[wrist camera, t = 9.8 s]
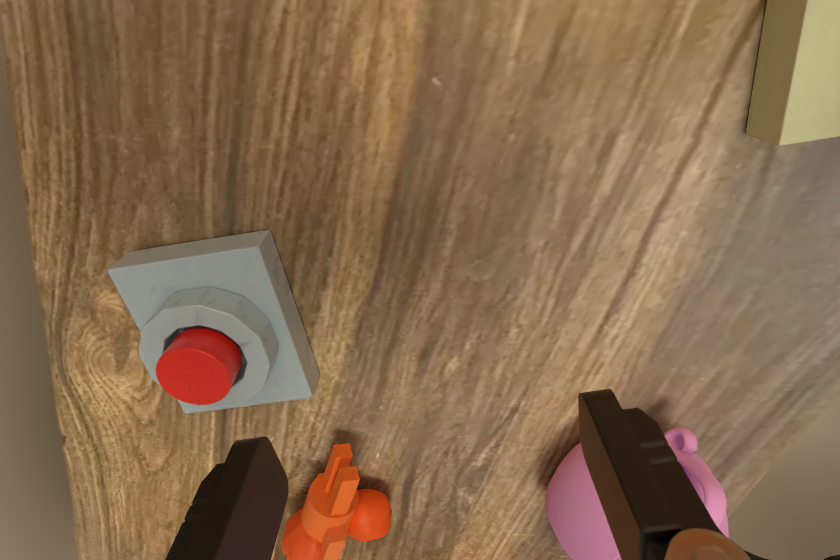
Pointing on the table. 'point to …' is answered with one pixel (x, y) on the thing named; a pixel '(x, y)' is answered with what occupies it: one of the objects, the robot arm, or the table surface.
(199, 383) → the bell button
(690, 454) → the teapot
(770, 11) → the plate
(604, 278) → the table surface
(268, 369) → the grey button base
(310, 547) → the orange fox minifigure
